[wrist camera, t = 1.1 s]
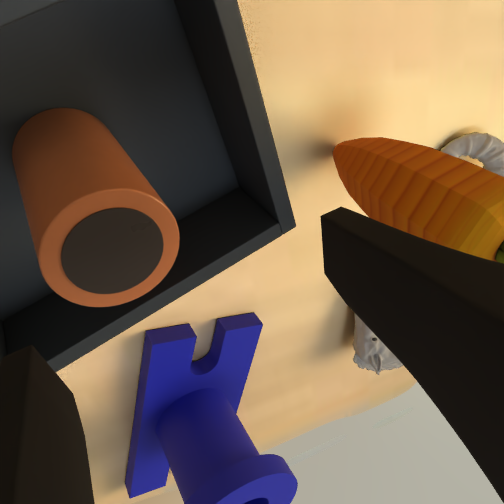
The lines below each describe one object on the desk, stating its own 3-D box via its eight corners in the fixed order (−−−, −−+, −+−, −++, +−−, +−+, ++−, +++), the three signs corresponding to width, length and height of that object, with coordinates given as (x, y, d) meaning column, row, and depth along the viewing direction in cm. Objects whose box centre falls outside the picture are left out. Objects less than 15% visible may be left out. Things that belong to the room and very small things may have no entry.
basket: (-4, 331, 21) (4, 403, 18) (-287, 85, 13) (-369, 139, 10) (250, 186, 24) (296, 226, 21) (157, -95, 16) (211, -100, 12)
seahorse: (413, 131, 27) (349, 393, 34) (573, 145, 29) (479, 388, 37) (376, 119, 31) (328, 353, 39) (517, 132, 33) (444, 350, 41)
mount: (214, 452, 37) (266, 557, 31) (125, 483, 33) (164, 610, 27) (253, 312, 30) (332, 412, 24) (145, 330, 26) (205, 456, 20)
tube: (49, 216, 19) (87, 330, 14) (-13, 137, 16) (5, 239, 11) (132, 172, 20) (198, 263, 14) (86, 89, 17) (147, 163, 12)
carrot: (310, 105, 23) (609, 255, 13) (379, 105, 26) (680, 231, 15) (293, 191, 26) (529, 375, 15) (357, 184, 28) (600, 339, 18)
